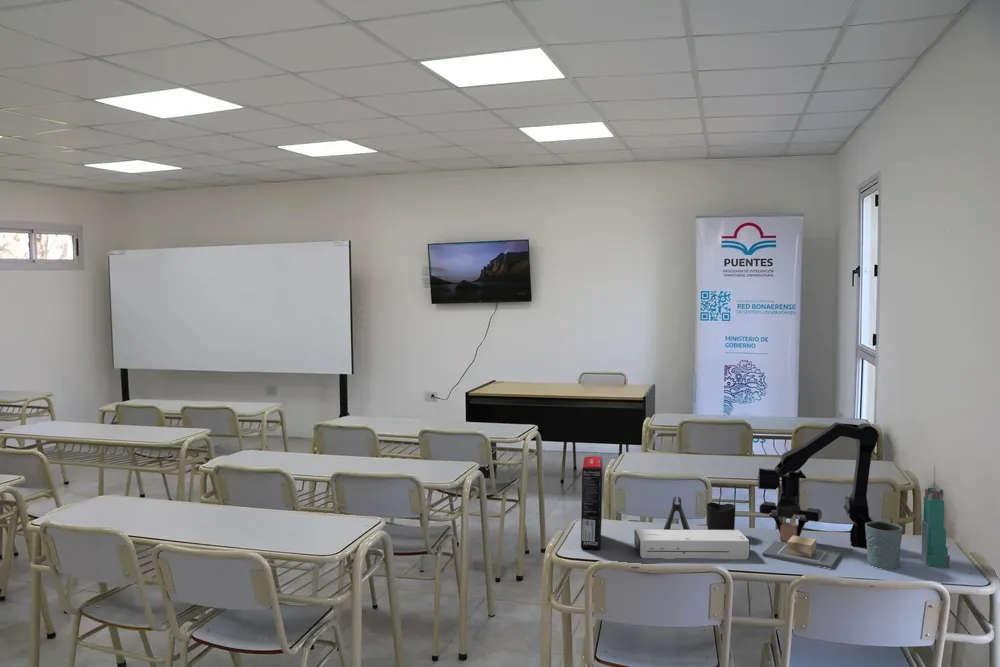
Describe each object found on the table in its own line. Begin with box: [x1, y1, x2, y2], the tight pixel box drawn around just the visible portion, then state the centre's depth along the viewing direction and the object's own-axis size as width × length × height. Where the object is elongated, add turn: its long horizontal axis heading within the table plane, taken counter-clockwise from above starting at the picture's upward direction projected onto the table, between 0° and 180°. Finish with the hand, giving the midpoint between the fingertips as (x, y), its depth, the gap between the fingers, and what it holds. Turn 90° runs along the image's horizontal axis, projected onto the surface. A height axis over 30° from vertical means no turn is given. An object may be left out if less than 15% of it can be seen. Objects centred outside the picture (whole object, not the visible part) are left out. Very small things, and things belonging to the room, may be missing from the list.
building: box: [921, 465, 951, 568], centre depth 223 cm, size 6×6×30 cm
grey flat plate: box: [762, 540, 842, 570], centre depth 231 cm, size 20×14×1 cm
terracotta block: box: [779, 521, 798, 542], centre depth 247 cm, size 5×5×5 cm
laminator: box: [633, 529, 751, 560], centre depth 235 cm, size 34×12×6 cm, turn 88°
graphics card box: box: [580, 455, 603, 550], centre depth 245 cm, size 17×7×27 cm, turn 172°
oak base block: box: [786, 535, 817, 558], centre depth 231 cm, size 7×7×4 cm
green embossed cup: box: [865, 520, 903, 570], centre depth 223 cm, size 10×10×12 cm
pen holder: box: [706, 501, 736, 530], centre depth 253 cm, size 9×9×10 cm
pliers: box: [663, 496, 691, 530], centre depth 255 cm, size 9×6×12 cm, turn 75°
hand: (789, 536), depth 247 cm, fingers closed on terracotta block, 5 cm apart
